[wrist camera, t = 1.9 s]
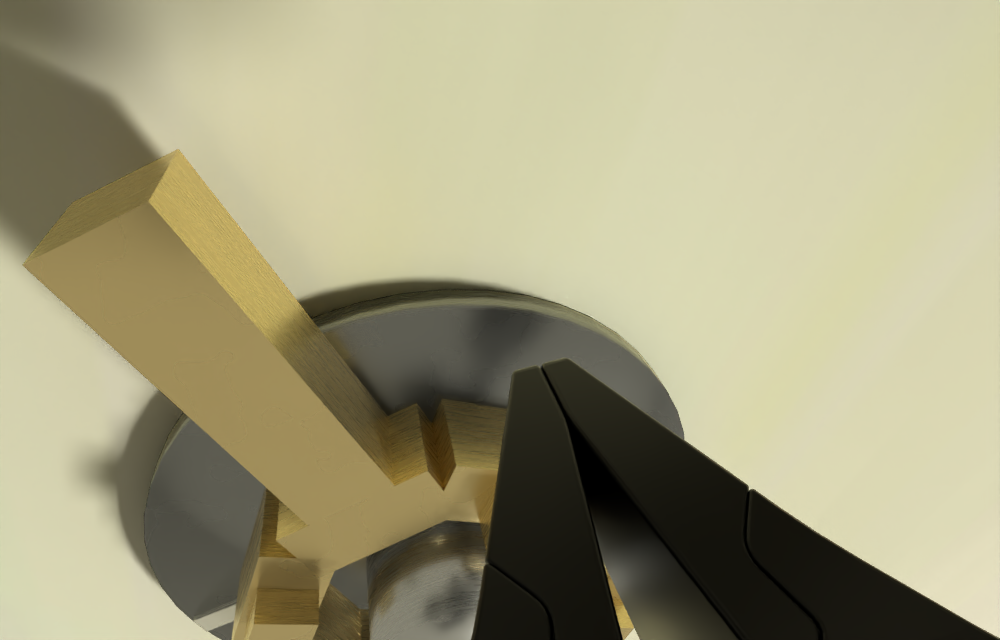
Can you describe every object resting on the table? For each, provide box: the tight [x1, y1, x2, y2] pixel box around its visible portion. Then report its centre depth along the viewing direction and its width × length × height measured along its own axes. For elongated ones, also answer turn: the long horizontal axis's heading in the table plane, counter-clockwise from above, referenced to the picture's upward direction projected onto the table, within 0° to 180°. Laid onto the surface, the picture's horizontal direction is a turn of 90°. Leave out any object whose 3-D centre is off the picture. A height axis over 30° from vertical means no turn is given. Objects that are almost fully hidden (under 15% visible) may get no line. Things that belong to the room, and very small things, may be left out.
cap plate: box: [144, 289, 684, 640], centre depth 20 cm, size 18×18×6 cm
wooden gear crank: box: [23, 149, 634, 640], centre depth 17 cm, size 20×12×4 cm, turn 23°
